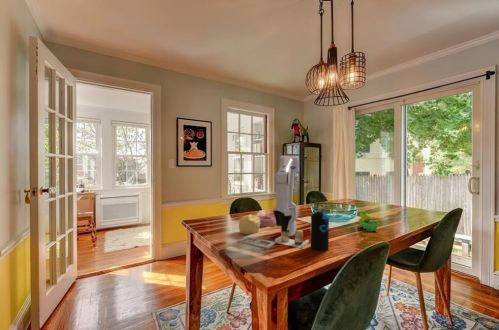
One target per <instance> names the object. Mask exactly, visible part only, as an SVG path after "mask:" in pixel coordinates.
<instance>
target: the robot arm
mask: <svg viewBox="0 0 499 330" xmlns="http://www.w3.org/2000/svg"><path fill="white" fill-rule="evenodd" d="M298 170H299V156H298V155H280V157H279V168H278V171H277V172H276V173H275V174H274V185H275V186H274V187H275V206H274V207H273V209H272V212H273V215H274V218H275V219H276V224H275V225H276V226H277V227H280V229H281V228H282V231H287V228H289V237H292V236H295V231H296V230H297V221H296V220H298V206H297V205H296V203H294V202H293V194H294V192H293V191H294V176H295V174H296V173H297V172H298ZM280 234H281V235H282V232H281V231H280Z"/></svg>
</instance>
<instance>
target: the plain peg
mask: <svg viewBox="0 0 499 330" xmlns="http://www.w3.org/2000/svg"><path fill="white" fill-rule="evenodd" d="M281 232H282V234H281V236H282V237H281V241H282V242H289V239H290V236H289V228H287V231H282V228H281V227H280V233H281Z"/></svg>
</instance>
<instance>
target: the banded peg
mask: <svg viewBox="0 0 499 330" xmlns="http://www.w3.org/2000/svg"><path fill="white" fill-rule="evenodd" d="M294 240H295V245H301V244H302V243H303V242H304V231H303V230H301V229H300V230H299V229H296V231H295V234H294Z"/></svg>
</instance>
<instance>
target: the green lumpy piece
mask: <svg viewBox="0 0 499 330" xmlns="http://www.w3.org/2000/svg"><path fill="white" fill-rule="evenodd" d="M359 215H360V218H358V220H359V224H360V228H362V227H363V228H362V229H364V230H365V229H366V231H367V230H368V231H367V232H376V231H377V229H378V227H379V225H380V223H379V222H378V221H375V220H373V219H371V215H370V214H369V213H367V212H366V210H361V211H360V213H359Z"/></svg>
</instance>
